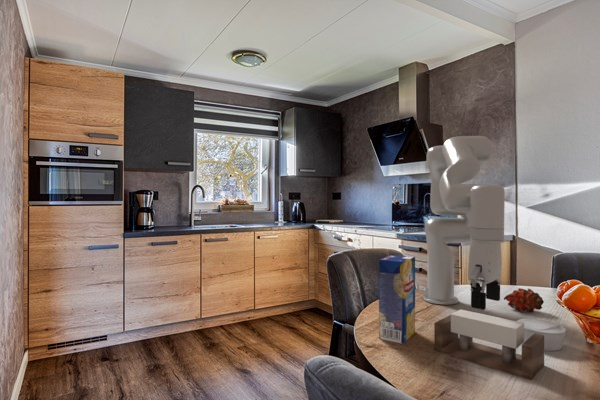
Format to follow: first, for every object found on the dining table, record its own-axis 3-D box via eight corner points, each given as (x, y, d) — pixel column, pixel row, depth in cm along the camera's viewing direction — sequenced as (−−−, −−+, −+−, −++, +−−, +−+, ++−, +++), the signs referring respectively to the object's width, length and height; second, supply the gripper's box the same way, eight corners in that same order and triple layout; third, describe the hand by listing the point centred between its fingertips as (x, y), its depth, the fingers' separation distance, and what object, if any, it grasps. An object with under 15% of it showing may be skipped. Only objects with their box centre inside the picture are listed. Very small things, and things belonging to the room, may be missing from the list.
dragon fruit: (547, 319, 125) (506, 318, 132) (545, 300, 131) (507, 299, 138) (542, 302, 121) (501, 301, 128) (541, 283, 127) (502, 283, 134)
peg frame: (434, 350, 96) (434, 322, 96) (451, 339, 103) (451, 314, 103) (532, 379, 80) (532, 347, 80) (544, 365, 87) (544, 335, 87)
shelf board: (450, 331, 95) (450, 314, 95) (460, 326, 99) (460, 309, 99) (516, 348, 84) (516, 329, 84) (524, 341, 89) (524, 322, 89)
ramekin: (567, 357, 92) (567, 335, 92) (515, 347, 98) (515, 327, 98) (564, 342, 102) (564, 322, 102) (517, 334, 108) (517, 316, 108)
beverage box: (415, 331, 109) (415, 256, 109) (403, 344, 100) (403, 262, 100) (392, 327, 113) (392, 254, 113) (378, 338, 104) (378, 259, 104)
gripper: (483, 230, 100) (483, 293, 101) (456, 236, 88) (455, 308, 89) (514, 233, 95) (513, 299, 96) (490, 240, 83) (489, 316, 84)
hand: (485, 303), depth 92 cm, fingers open, 9 cm apart
